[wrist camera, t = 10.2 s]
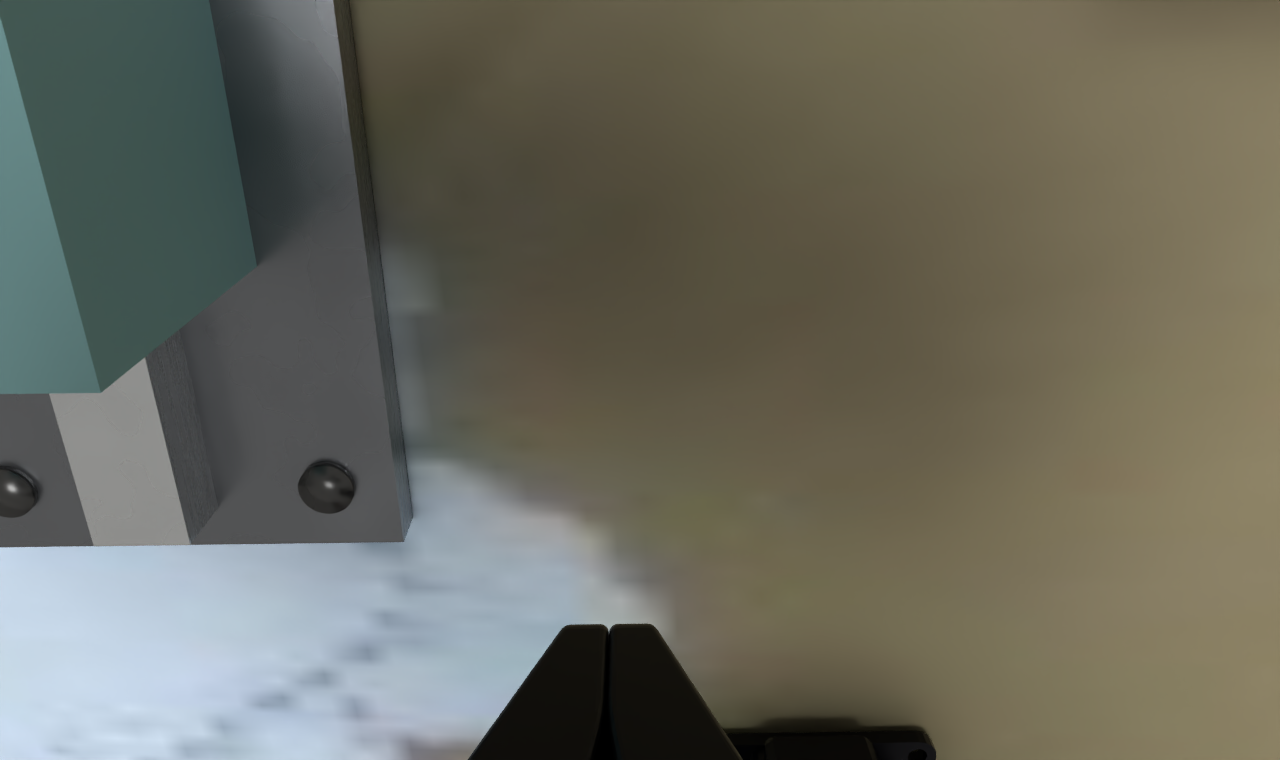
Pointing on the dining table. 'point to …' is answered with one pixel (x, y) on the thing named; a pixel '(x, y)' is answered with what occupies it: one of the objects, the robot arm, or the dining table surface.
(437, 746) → the dining table surface
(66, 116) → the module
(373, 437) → the plate
